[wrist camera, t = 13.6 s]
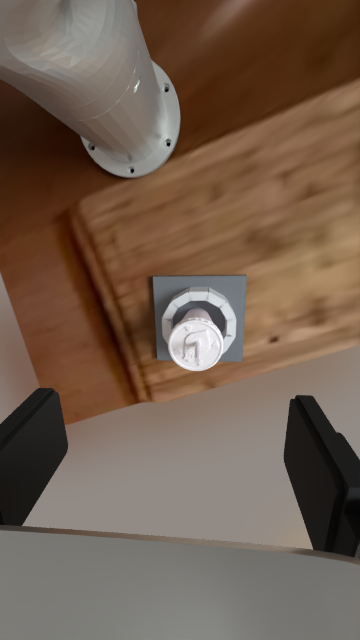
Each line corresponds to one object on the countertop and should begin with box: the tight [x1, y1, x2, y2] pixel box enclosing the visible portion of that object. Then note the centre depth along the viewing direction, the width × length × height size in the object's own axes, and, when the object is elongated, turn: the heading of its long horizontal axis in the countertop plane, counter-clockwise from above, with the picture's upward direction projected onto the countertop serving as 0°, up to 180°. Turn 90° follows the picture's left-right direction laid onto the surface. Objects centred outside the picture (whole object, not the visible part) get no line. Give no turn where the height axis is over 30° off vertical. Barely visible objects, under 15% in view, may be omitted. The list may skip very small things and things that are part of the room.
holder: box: [153, 275, 247, 362], centre depth 39 cm, size 13×13×4 cm
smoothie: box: [168, 308, 223, 371], centre depth 34 cm, size 6×6×14 cm
